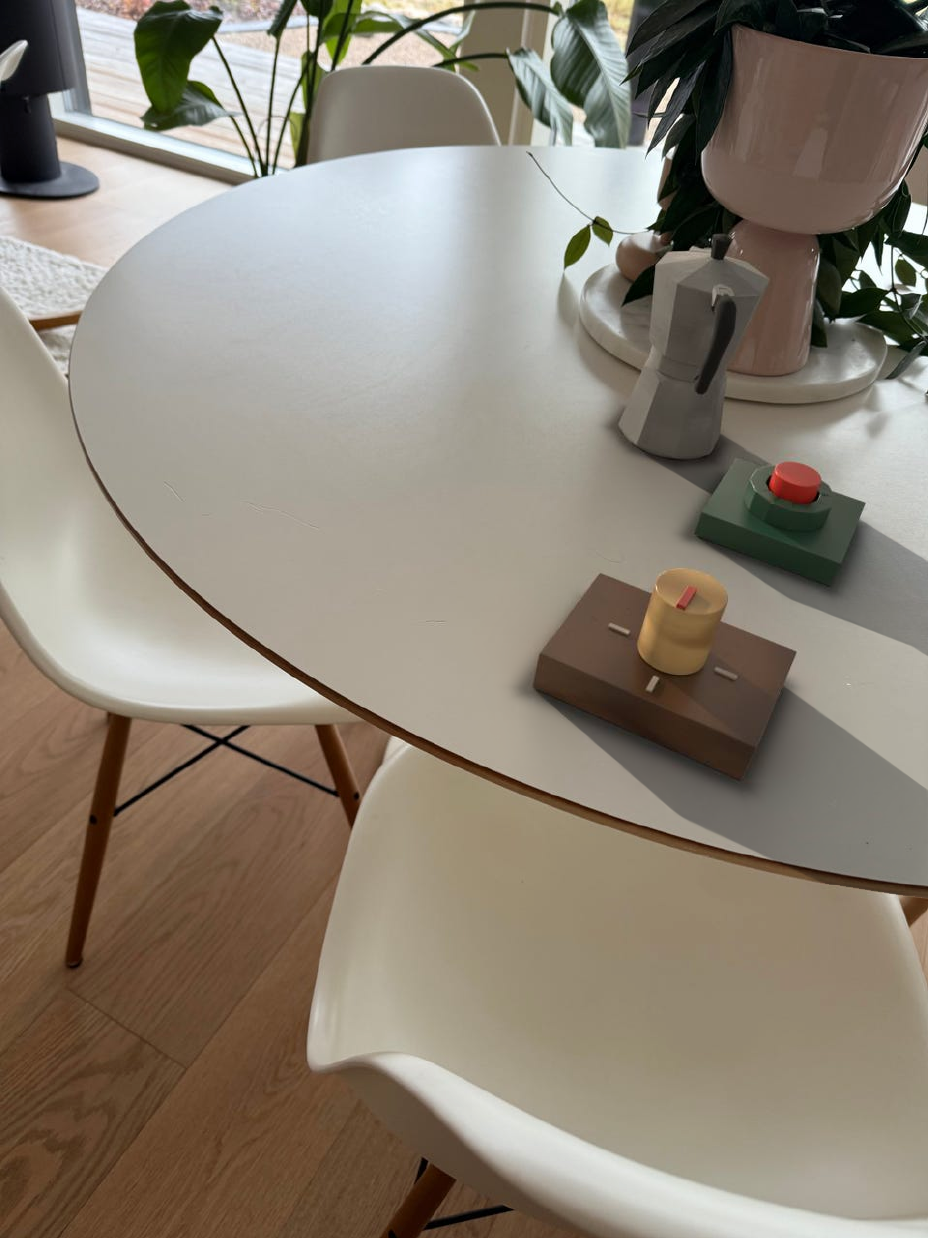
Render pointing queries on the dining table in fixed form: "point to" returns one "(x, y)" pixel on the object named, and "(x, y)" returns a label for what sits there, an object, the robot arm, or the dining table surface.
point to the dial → (681, 621)
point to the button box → (780, 523)
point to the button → (795, 482)
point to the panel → (664, 679)
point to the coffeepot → (691, 349)
